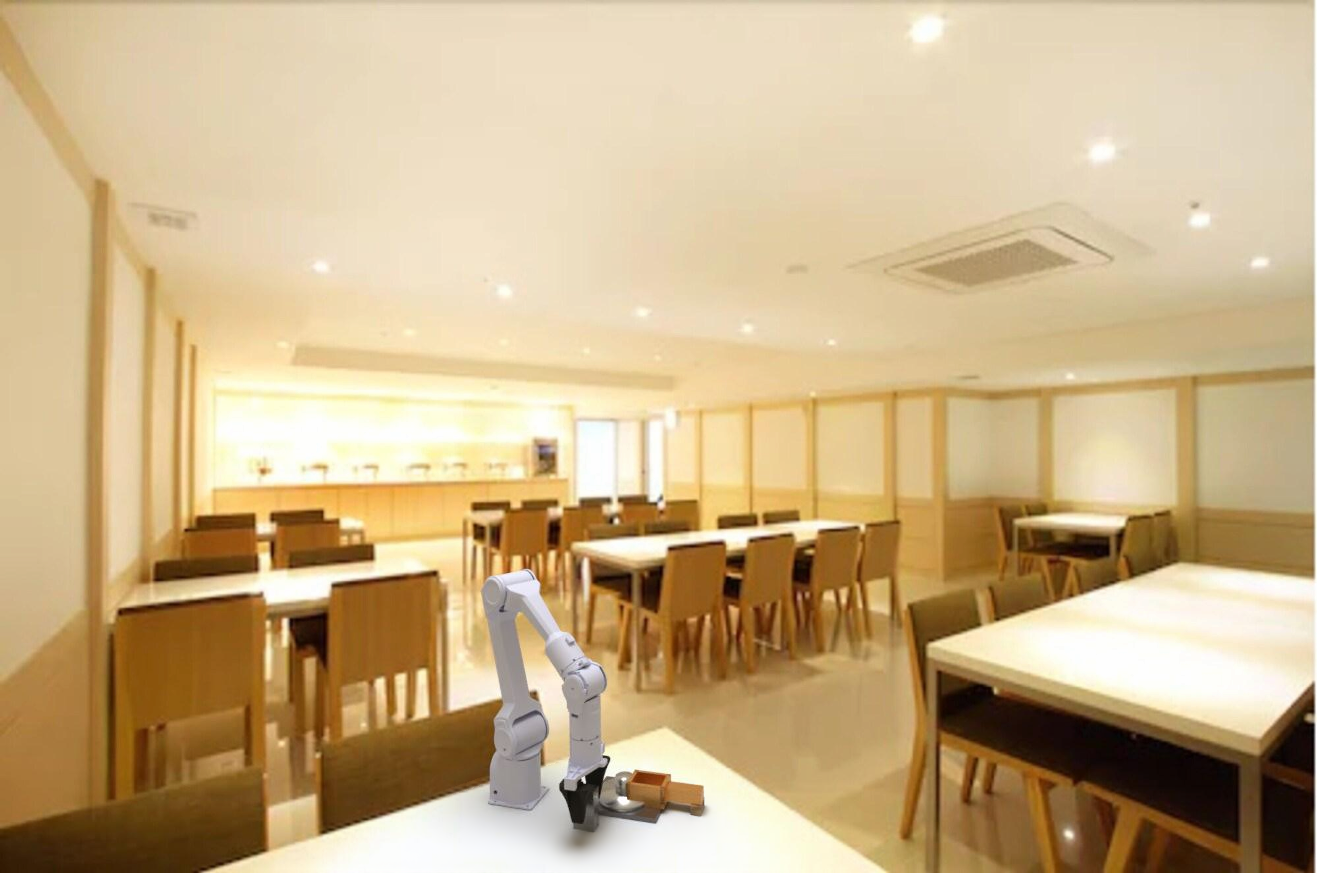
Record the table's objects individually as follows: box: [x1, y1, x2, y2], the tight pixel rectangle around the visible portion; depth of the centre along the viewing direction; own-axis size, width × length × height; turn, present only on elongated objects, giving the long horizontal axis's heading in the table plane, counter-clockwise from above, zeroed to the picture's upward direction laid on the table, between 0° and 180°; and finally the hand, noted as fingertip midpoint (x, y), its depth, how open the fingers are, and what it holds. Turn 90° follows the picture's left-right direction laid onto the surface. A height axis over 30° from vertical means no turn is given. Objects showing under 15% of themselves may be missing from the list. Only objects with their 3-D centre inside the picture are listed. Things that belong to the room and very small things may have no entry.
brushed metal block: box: [572, 782, 600, 833], centre depth 112 cm, size 4×2×7 cm, turn 74°
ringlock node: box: [599, 769, 705, 824], centre depth 119 cm, size 22×12×5 cm, turn 74°
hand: (586, 810), depth 112 cm, fingers open, 7 cm apart
